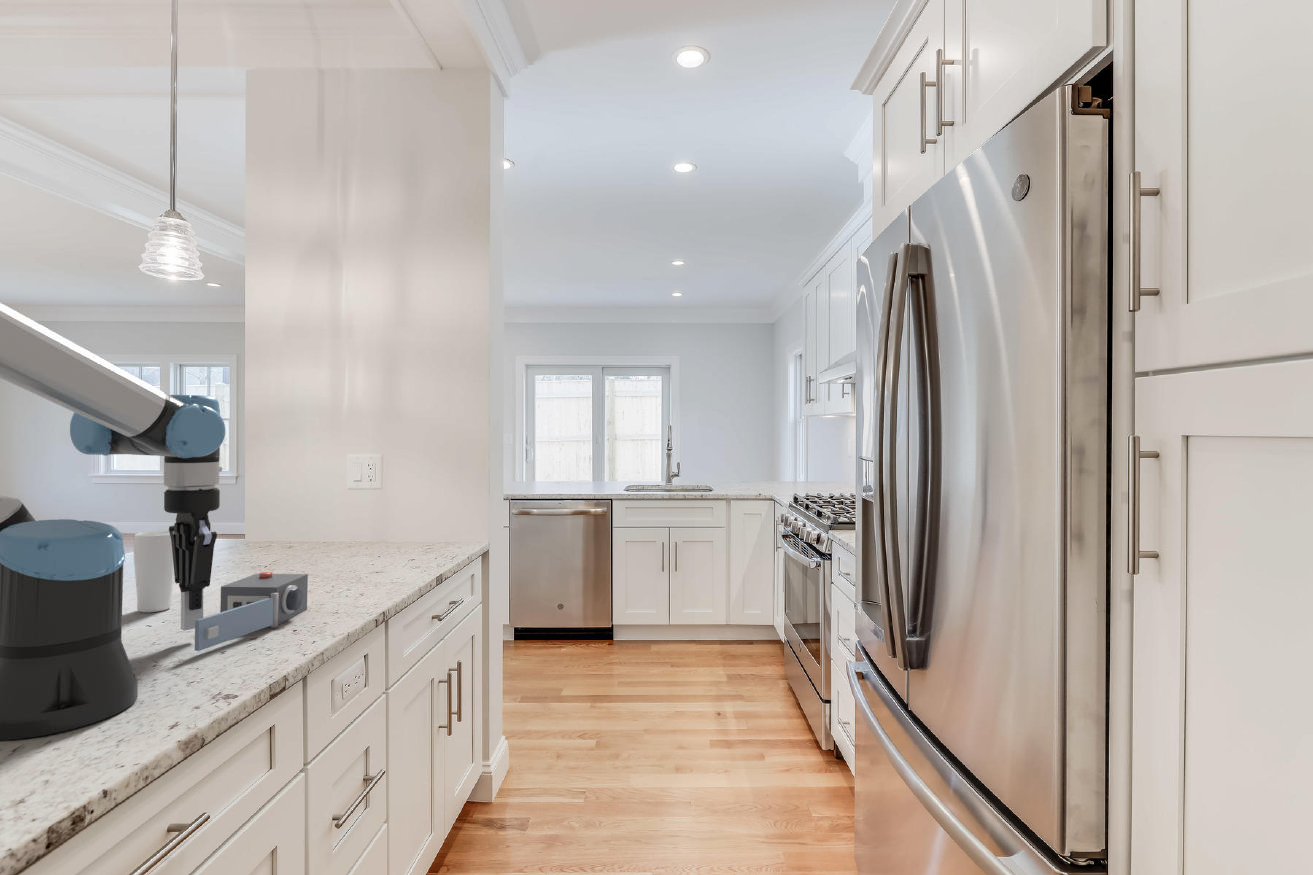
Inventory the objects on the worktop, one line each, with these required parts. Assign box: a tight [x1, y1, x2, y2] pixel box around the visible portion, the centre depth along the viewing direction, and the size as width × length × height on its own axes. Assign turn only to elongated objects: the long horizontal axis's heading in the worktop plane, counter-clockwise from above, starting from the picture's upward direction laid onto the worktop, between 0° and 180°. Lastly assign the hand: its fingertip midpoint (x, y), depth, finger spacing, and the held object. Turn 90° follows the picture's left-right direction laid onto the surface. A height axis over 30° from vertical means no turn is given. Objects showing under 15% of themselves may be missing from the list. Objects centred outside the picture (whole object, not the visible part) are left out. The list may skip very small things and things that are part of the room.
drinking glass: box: [132, 530, 175, 614], centre depth 125 cm, size 7×7×15 cm
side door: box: [194, 593, 279, 652], centre depth 108 cm, size 2×16×6 cm, turn 168°
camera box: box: [219, 571, 309, 626], centre depth 121 cm, size 11×12×8 cm
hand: (192, 627), depth 107 cm, fingers closed
